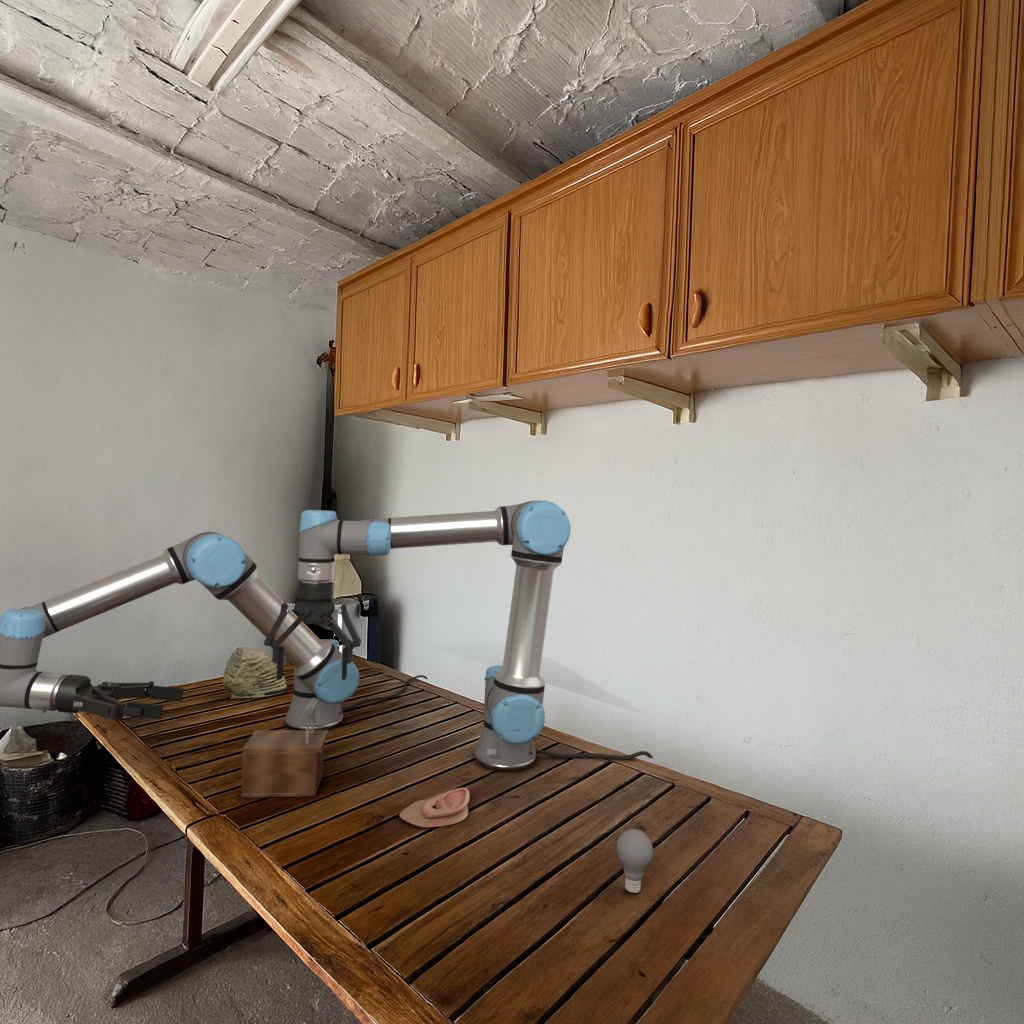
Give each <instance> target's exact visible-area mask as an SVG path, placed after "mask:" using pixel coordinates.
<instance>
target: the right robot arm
mask: <svg viewBox="0 0 1024 1024" xmlns="http://www.w3.org/2000/svg"><path fill="white" fill-rule="evenodd" d="M571 528H572V527H571V522H570V518H569V516H568V515H567V513H566V512H565V510H564V509H563V508H562V507H560V506H559V505H558V504H557V503H554V502H553V501H548V500H539V499H538V500H529V501H525V502H521V503H517V504H512V505H502V506H497V507H496V509H494V510H490V511H487V510H486V511H473V512H459V513H457V512H455V513H443V514H428V515H426V514H425V515H413V516H411V515H410V516H396V517H394V516H393V517H381V518H380V517H379V518H374V517H370V518H364V519H362V520H342V519H338V517H337V512H336V511H335V510H324V509H306V510H304V511H302V512H301V514H300V524H299V530H298V534H299V535H298V540H299V541H298V565H297V570H298V571H297V579H298V580H299V581H298V583H297V590H296V591H297V594H296V603H293V602H292V603H291V602H289V601H283V602H284V603H283V604H282V605H281V610H280V614H279V616H278V618H277V620H276V621H275V623H274V625H273V627H272V629H271V630H270V632H269V634H268V636H267V637H265V639H264V641H263V645H264V646H265V647H270V648H271V649H272V654H271V655H272V658H271V659H272V661H273V663H275V664H276V668H277V680H280V679H281V678H282V677H283V676H284V660H285V659H284V658H285V655H284V647H283V646H280V645H281V644H282V643H283V641H284V640H285V639H286V638H287V637H288V636H289V635H290V634H291V633H292V632H293V631H294V630H295V629H296V628H297V626H298V625H299V624H300V623H301V622H303V623H304V624H305V625H312V624H313V625H322V624H325V625H326V626H327V627H328V628H329V629H330V630H331V631H332V633H333V634H334V635H335V636H336V637H337V638H338V641H340V642H341V644H342V645H343V646H344V647H343V649H342V654H343V658H342V680H345V679H346V677H347V664H351V662H353V658H354V657H353V655H354V654H353V653H354V649H355V648H359V647H360V646H361V645H362V642H363V641H362V639H361V636H360V635H359V632H358V630H357V628H356V626H355V624H354V621H353V619H352V618H351V616H350V613H349V605H348V603H347V602H343V603H340V604H339V603H338V604H335V603H334V589H335V587H334V585H335V583H334V582H333V580H334V579H335V562H336V561H335V558H336V555H341V556H342V555H350V556H371V557H378V556H379V557H380V556H381V557H382V556H384V557H386V556H388V555H389V554H390V553H391V550H393V549H394V550H395V549H408V548H409V549H410V548H423V547H424V548H425V547H436V546H437V547H439V546H453V545H454V546H455V545H468V544H483V543H497V544H498V545H499V546H511V553H510V558H511V559H512V560H513V561H514V563H515V574H514V580H513V588H512V597H511V601H510V602H511V603H510V610H509V617H508V624H507V631H506V632H507V633H506V639H505V647H504V654H503V661H502V664H498V665H492V666H489V667H487V669H486V670H485V675H484V682H485V683H484V702H483V703H484V704H483V724H482V729H481V731H480V734H479V738H478V739H477V743H476V744H475V745H476V746H475V748H474V760H475V762H476V763H477V764H478V765H480V766H481V767H483V768H486V769H489V770H492V771H493V770H494V771H500V772H517V771H522V770H526V769H529V768H531V767H532V766H534V765H535V764H536V761H537V754H539V755H545V756H549V757H552V758H556V759H557V758H558V759H577V758H599V759H610V760H632V759H635V758H638V757H640V756H645V757H647V758H648V759H654V757H653V754H651V753H650V752H648V751H645V750H641V751H636V752H634V753H631V754H628V755H625V754H624V755H621V754H620V755H619V754H607V753H594V752H582V753H556V752H551V751H547V750H543V749H538V748H536V747H535V743H534V739H535V738H537V737H538V736H539V735H540V734H541V732H542V730H543V729H544V726H545V722H546V715H545V713H546V712H545V709H544V705H543V704H544V695H545V688H546V680H545V679H544V678H543V677H542V675H541V667H542V661H543V654H544V653H543V652H544V645H545V638H546V631H547V624H548V616H549V608H550V600H551V594H552V587H553V579H554V572H555V570H556V569H557V568H558V567H559V566H561V565H562V562H563V556H564V549H565V547H566V545H567V543H568V542H569V540H570V536H571V530H572V529H571ZM293 610H294V612H295V614H296V615H297V617H298V618H297V619H296V620H295V621H294V622H293V623H292V625H291V626H290V627H289V628H288V629H287V630H286V631H285V632H284V633H283V634H282V635H281V636H280V637H279V638H278V640H277V641H276V640H273V639H274V637H275V635H276V634H277V632H278V630H279V628H280V626H281V625H282V623H283V621H284V619H285V618H286V616H287V614H288V613H290V612H291V611H293ZM335 611H337V614H339V615H341V619H342V621H343V623H344V625H345V627H346V629H347V631H348V633H349V635H350V637H351V639H350V637H348V635H347V634H346V632H345V631H344V630H343V629H342V628H341V626H339V624H338V623H337V622H336V620H335V618H333V616H332V614H333V613H334V612H335Z"/></svg>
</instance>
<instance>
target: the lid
mask: <svg viewBox="0 0 1024 1024" xmlns="http://www.w3.org/2000/svg"><path fill="white" fill-rule="evenodd" d="M317 704H318V700H317V699H316V698H312V699H310V701H309V703H308V705H307V707H306V708H305V710H304V714H305V716H307V718H306V730H292V729H284V730H283V729H282V730H281V729H275V730H273V729H272V730H271V729H269V730H267V729H263V730H259V729H255V730H254V731H253V733H252V735H251V736H250V737H249V739H248V740H247V742H246V743H245V744H244V746H243V747H242V754H243V753H272V752H321V751H322V748H323V746H324V747H325V744H326V742H327V738H328V736H329V730H314V723H315V708H316V706H317ZM310 716H311V730H310Z"/></svg>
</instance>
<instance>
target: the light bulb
mask: <svg viewBox="0 0 1024 1024" xmlns="http://www.w3.org/2000/svg"><path fill="white" fill-rule="evenodd" d="M615 849H616V854H617V857H618V859H619V861H620V863H621V865H622V867H623V873H624V874H623V875H624V876H625V878H624V888H625V890H627V891H628V892H630V893H634V894H635V893H639V892H640V891H641V889H642V887H641V886H642V879H643V877H644V875H645V871H646V868H647V867H648V866H649V864H650V863H651V861H652V859H653V855H654V847H653V843H652V841H651V838H649V836H648V835H647V834H646V833H645V832H643V831H642V830H641V829H636V828H629V829H627V830H625V831H623V832H622V833H621V834H620V835H619V837H618V839H617V841H616V847H615Z"/></svg>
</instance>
